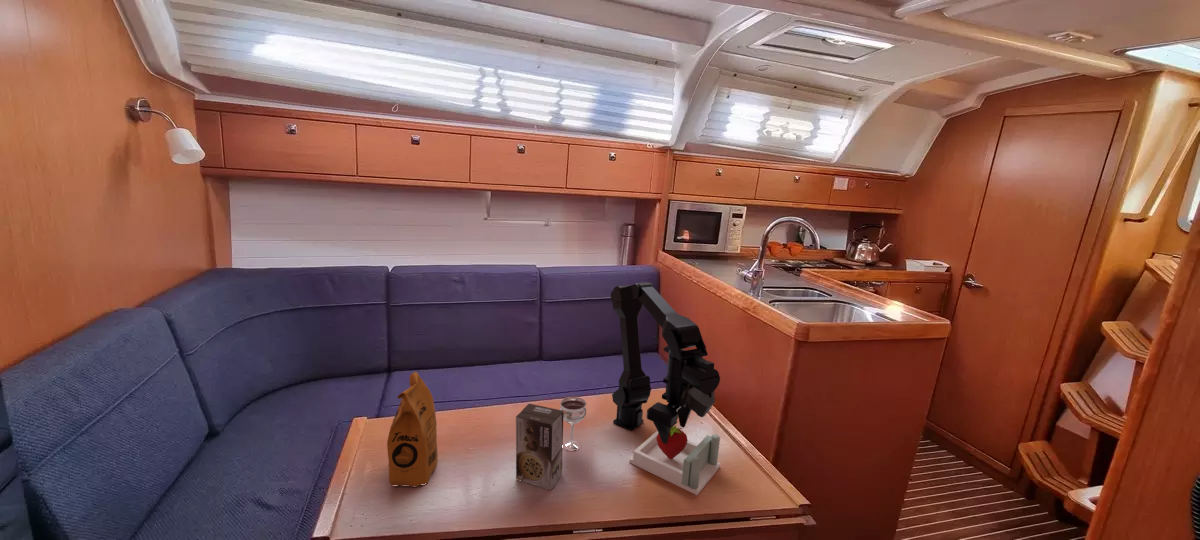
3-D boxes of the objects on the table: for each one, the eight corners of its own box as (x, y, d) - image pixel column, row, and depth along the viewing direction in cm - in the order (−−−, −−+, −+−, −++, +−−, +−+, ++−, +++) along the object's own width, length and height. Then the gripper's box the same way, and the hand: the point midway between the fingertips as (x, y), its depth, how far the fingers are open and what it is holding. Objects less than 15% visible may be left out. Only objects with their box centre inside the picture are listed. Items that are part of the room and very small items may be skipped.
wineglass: (553, 449, 114) (555, 406, 111) (565, 435, 120) (567, 394, 117) (578, 456, 111) (580, 412, 109) (589, 442, 117) (591, 400, 115)
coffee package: (380, 490, 96) (375, 396, 92) (401, 454, 109) (396, 370, 104) (428, 489, 97) (425, 396, 93) (443, 454, 109) (441, 370, 105)
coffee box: (562, 473, 105) (565, 410, 101) (551, 491, 99) (553, 424, 95) (527, 463, 108) (529, 402, 104) (514, 480, 102) (515, 415, 98)
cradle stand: (629, 462, 110) (631, 432, 108) (655, 438, 120) (657, 411, 119) (697, 495, 100) (700, 463, 98) (719, 466, 110) (723, 437, 108)
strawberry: (688, 466, 108) (691, 429, 105) (657, 466, 108) (658, 429, 105) (684, 451, 113) (686, 415, 111) (654, 451, 113) (655, 415, 111)
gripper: (694, 400, 94) (687, 467, 97) (727, 372, 108) (720, 430, 112) (647, 384, 100) (643, 447, 103) (685, 359, 115) (679, 415, 118)
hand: (673, 434), depth 109 cm, fingers open, 9 cm apart
